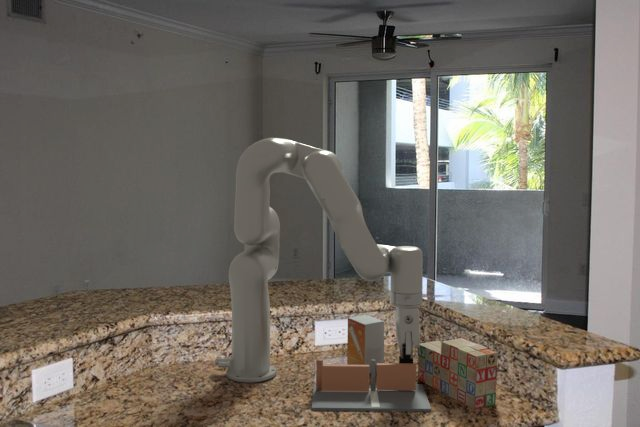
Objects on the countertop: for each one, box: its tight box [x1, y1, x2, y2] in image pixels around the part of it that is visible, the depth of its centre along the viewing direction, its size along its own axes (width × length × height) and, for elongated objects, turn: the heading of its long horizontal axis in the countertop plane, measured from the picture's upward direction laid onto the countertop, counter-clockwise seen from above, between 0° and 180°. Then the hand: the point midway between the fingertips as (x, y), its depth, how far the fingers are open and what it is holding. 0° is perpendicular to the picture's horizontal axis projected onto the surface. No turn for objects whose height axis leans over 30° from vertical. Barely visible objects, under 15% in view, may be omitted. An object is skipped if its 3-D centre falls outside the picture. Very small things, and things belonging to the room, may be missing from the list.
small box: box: [346, 314, 385, 374], centre depth 170 cm, size 8×6×13 cm
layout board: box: [311, 382, 432, 412], centre depth 150 cm, size 26×15×1 cm, turn 89°
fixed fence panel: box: [315, 358, 370, 391], centre depth 152 cm, size 12×2×7 cm, turn 89°
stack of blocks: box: [417, 337, 499, 410], centre depth 153 cm, size 21×6×12 cm, turn 27°
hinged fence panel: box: [370, 359, 417, 391], centre depth 152 cm, size 10×1×7 cm, turn 89°
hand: (406, 373), depth 158 cm, fingers closed
